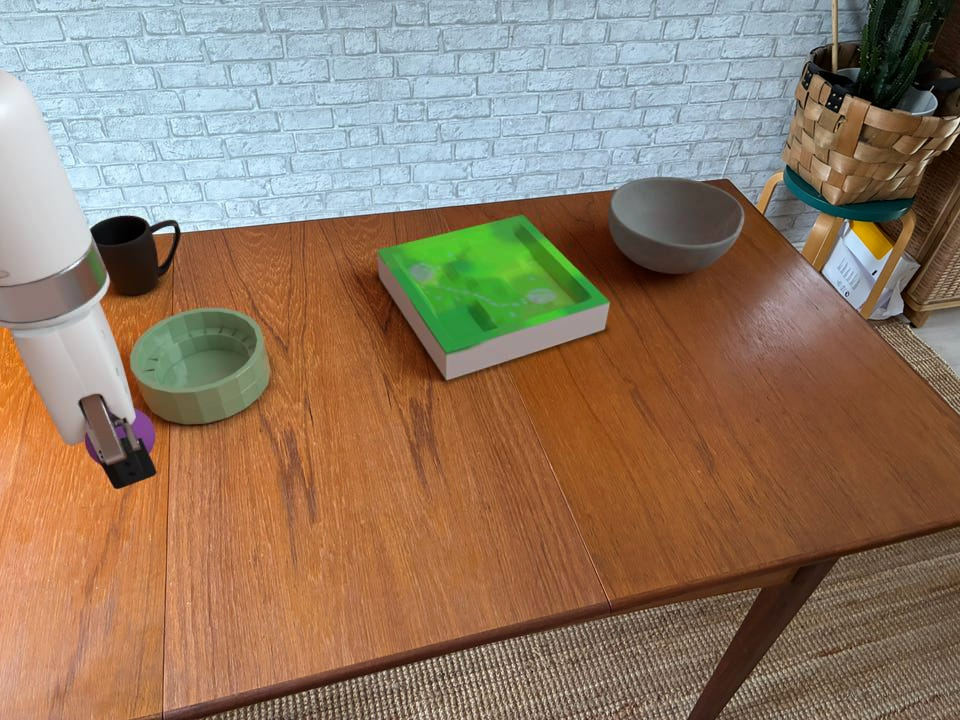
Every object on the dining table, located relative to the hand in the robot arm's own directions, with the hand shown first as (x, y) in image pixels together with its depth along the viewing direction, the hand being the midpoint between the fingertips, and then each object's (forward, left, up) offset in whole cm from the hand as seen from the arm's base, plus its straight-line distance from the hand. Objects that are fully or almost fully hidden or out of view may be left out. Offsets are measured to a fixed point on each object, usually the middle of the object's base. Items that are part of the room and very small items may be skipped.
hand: (128, 453), depth 57 cm
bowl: (+71, -44, -20) cm, 86 cm away
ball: (0, 0, -1) cm, 1 cm away
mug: (+43, +31, -20) cm, 57 cm away
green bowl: (+26, +12, -20) cm, 35 cm away
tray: (+52, -19, -20) cm, 59 cm away
